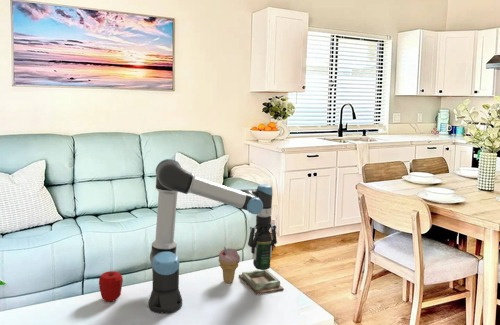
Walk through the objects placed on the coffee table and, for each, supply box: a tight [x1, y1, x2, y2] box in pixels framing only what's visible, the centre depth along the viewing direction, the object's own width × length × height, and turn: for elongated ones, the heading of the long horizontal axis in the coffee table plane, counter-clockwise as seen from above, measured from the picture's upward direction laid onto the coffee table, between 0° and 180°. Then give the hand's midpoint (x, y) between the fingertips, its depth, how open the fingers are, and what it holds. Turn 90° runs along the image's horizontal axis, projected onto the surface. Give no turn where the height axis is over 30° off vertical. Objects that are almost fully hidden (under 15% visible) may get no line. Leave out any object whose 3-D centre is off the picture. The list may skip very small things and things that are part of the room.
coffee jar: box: [252, 232, 272, 270], centre depth 218 cm, size 10×8×19 cm
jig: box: [238, 269, 285, 296], centre depth 220 cm, size 15×22×4 cm
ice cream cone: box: [218, 247, 241, 284], centre depth 219 cm, size 11×11×20 cm
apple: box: [98, 270, 124, 303], centre depth 196 cm, size 10×10×14 cm
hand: (261, 258), depth 218 cm, fingers closed on coffee jar, 8 cm apart
